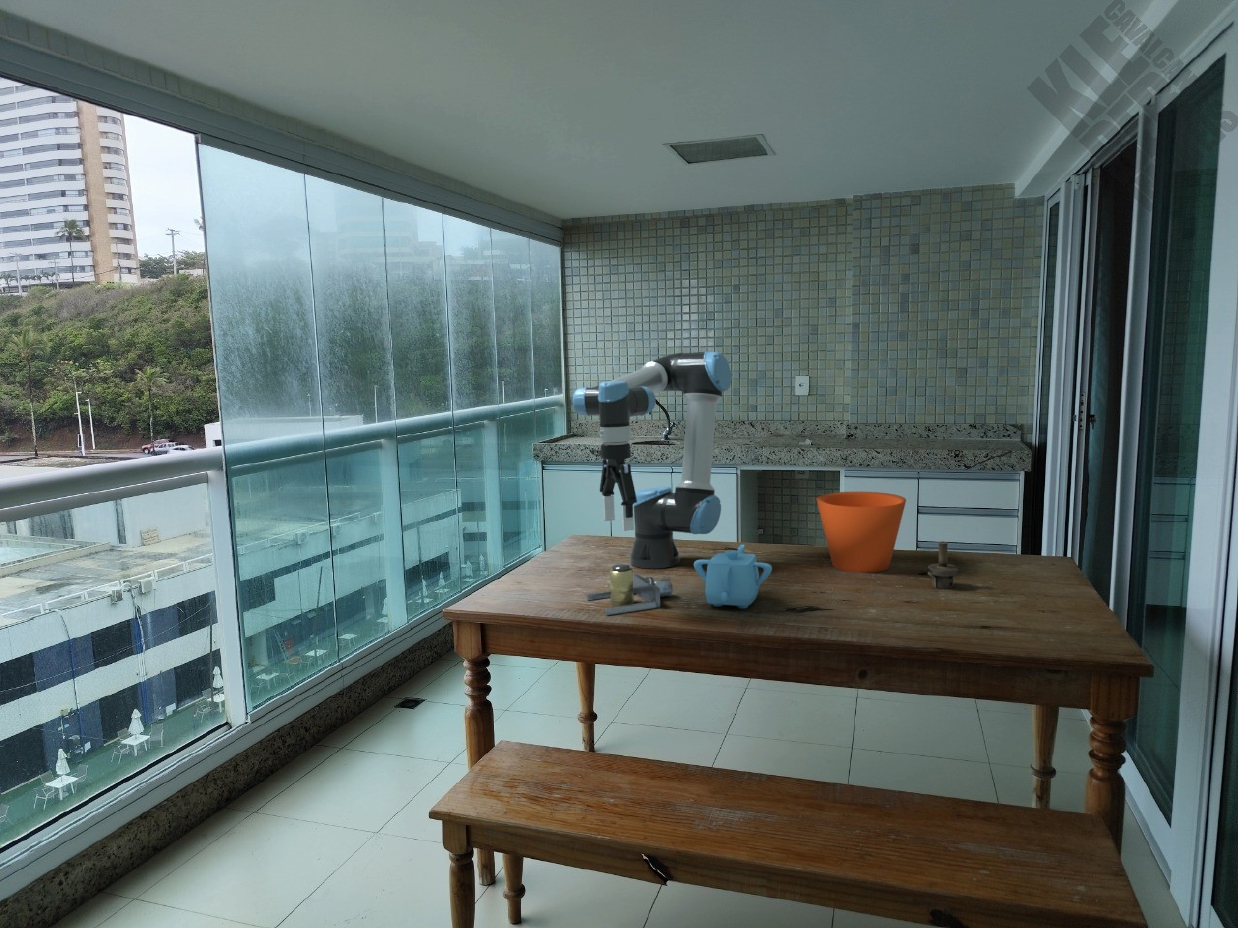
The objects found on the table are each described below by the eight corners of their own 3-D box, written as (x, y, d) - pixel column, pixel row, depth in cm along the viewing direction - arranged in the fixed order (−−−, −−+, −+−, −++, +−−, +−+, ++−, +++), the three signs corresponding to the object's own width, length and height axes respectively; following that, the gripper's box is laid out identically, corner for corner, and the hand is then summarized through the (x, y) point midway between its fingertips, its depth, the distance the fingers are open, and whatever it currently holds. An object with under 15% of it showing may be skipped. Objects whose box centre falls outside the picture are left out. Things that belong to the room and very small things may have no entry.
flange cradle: (658, 588, 225) (657, 568, 225) (681, 603, 211) (681, 581, 211) (586, 599, 218) (585, 578, 218) (606, 615, 204) (605, 592, 203)
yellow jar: (628, 598, 218) (627, 562, 216) (637, 604, 212) (635, 567, 211) (607, 601, 216) (606, 565, 214) (615, 608, 210) (614, 570, 209)
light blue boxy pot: (777, 607, 206) (777, 554, 204) (718, 615, 201) (717, 562, 199) (743, 588, 223) (743, 539, 221) (688, 596, 218) (687, 546, 216)
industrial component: (955, 583, 221) (956, 539, 219) (961, 590, 214) (962, 545, 212) (918, 582, 223) (919, 538, 221) (923, 590, 215) (923, 545, 214)
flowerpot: (914, 559, 246) (915, 494, 243) (892, 580, 225) (893, 509, 222) (832, 551, 259) (832, 489, 256) (804, 570, 238) (804, 503, 236)
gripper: (585, 439, 218) (589, 518, 221) (619, 448, 195) (622, 536, 198) (612, 437, 221) (615, 515, 224) (648, 446, 198) (651, 532, 201)
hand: (618, 525), depth 211 cm, fingers open, 13 cm apart
